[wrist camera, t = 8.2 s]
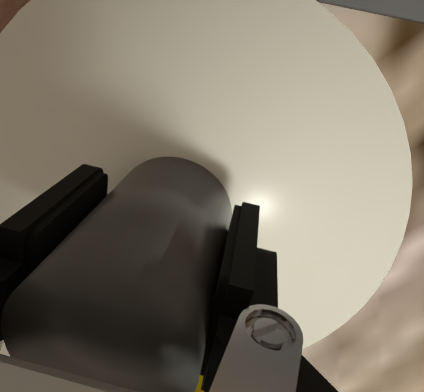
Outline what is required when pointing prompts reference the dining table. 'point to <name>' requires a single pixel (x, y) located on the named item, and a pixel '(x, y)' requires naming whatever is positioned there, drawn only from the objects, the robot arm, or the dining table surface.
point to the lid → (193, 173)
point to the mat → (385, 7)
